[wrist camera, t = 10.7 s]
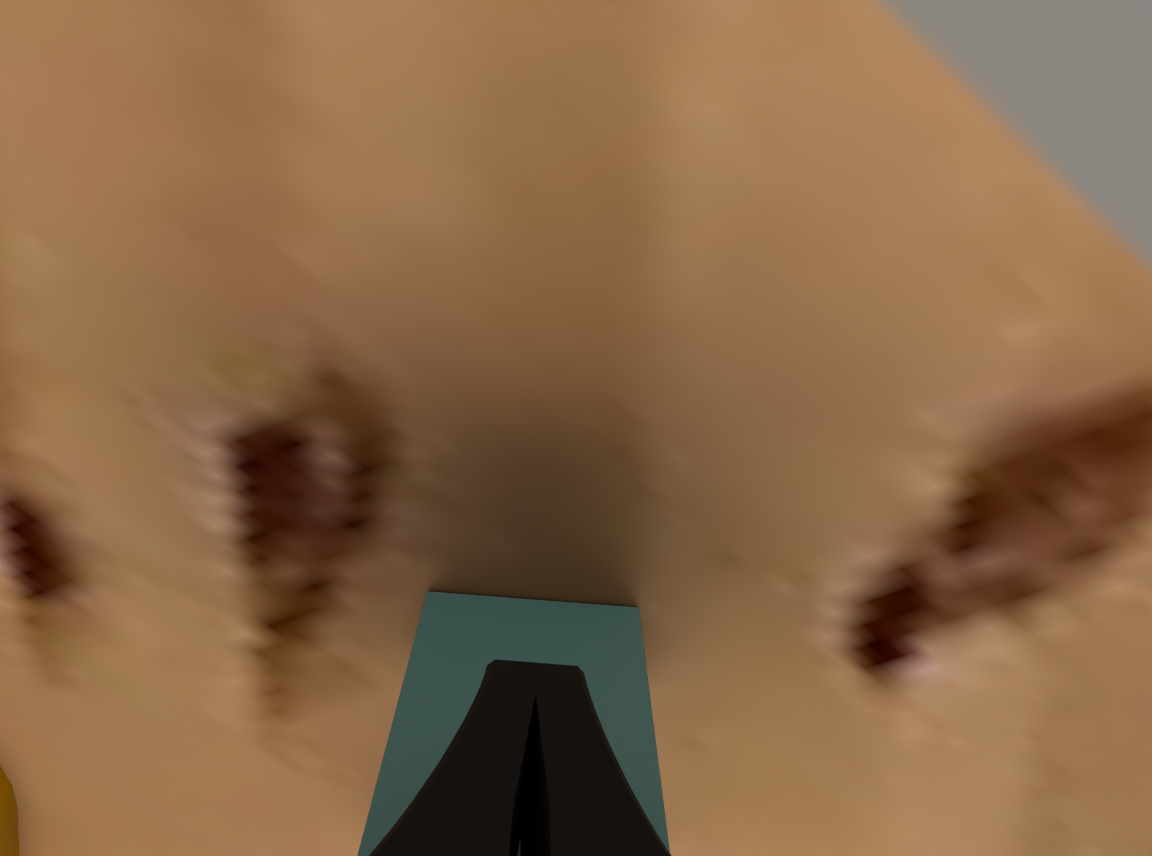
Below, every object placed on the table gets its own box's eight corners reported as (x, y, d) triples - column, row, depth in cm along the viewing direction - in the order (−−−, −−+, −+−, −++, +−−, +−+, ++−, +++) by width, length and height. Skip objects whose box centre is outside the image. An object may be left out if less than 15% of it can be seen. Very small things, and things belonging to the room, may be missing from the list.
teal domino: (638, 607, 18) (686, 983, 11) (627, 681, 19) (664, 1077, 12) (427, 591, 18) (329, 962, 11) (424, 666, 19) (332, 1061, 11)
